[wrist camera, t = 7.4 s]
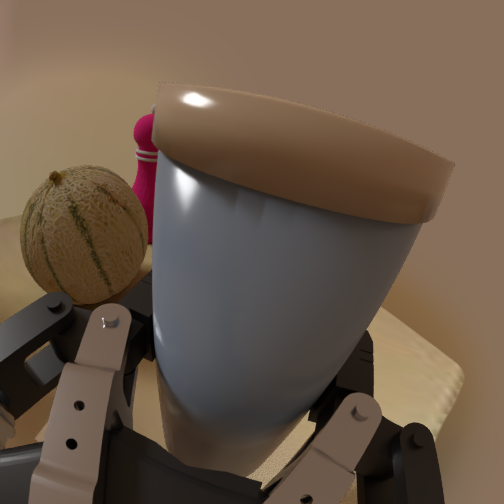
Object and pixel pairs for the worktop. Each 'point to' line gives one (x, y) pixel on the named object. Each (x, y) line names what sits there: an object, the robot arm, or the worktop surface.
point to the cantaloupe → (84, 234)
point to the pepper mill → (146, 168)
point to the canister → (269, 259)
